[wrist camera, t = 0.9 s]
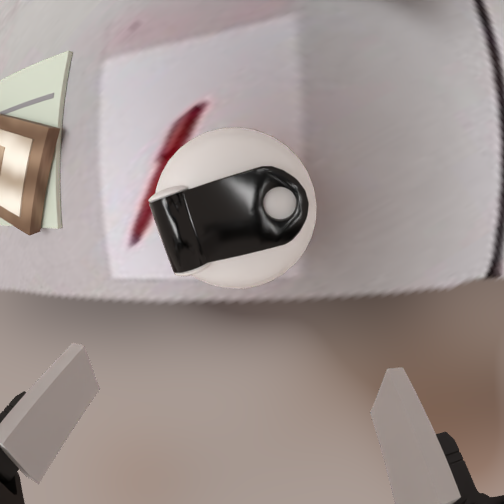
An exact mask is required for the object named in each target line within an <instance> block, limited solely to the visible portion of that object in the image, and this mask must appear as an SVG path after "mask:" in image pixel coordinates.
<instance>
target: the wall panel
mask: <svg viewBox="0 0 504 504" xmlns="http://www.w3.org/2000/svg"><path fill="white" fill-rule="evenodd" d="M72 54H73V52H71V51H66V52H64V53H61V54H58V55H55V56H53V57H50V58H48V59H45V60H43V61H40V62H38V63H36V64H33V65H31V66H29V67H27V68H24V69H22V70H20V71H18V72H16V73H14V74H12V75H10V76H8V77H6V78H4V79H2V80H0V114H5V115H9V116H13V117H18V118H22V119H26V120H30V121H34V122H38V123H42V124H45V125H49V126H53V127H57V128H60V132H59V136H58V139H57V143H56V147H55V151H54V155H53V159H52V163H51V168H50V173H49V177H48V183H47V188H46V194H45V200H44V206H43V213H42V221H41V228H55V229H58V228H61V227H62V219H61V201H60V150H61V132H62V120H63V110H64V101H65V94H66V87H67V80H68V74H69V69H70V63H71V58H72ZM0 225H2V226H13V225H11V224H10V223H8V222H7V221H5V220H4V219H2V218H0Z"/></svg>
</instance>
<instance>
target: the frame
mask: <svg viewBox="0 0 504 504" xmlns="http://www.w3.org/2000/svg"><path fill="white" fill-rule="evenodd" d="M59 132H60V128H57V127H53V126H49V125H45V124H42V123H38V122H34V121H30V120H26V119H22V118H18V117H13V116H9V115H5V114H0V218H2V219H4V220H5V221H7V222H8V223H10V224H11V225H13V226H15V227H16V228H18V229H20V230H21V231H23V232H25V233H26V234H28V235H32V234H34V233H37V232H40V229H41V221H42V213H43V206H44V200H45V194H46V188H47V183H48V177H49V173H50V168H51V163H52V159H53V155H54V151H55V147H56V143H57V139H58V136H59Z"/></svg>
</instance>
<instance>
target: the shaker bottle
mask: <svg viewBox="0 0 504 504" xmlns="http://www.w3.org/2000/svg"><path fill="white" fill-rule="evenodd" d="M149 202H150V203H149V205H150V208H151V211H152V214H153V217H154V220H155V223H156V226H157V230H158V233H159V236H160V238H161V240H162V242H163V245H164V248H165V251H166V253H167V256H168V259H169V261H170V264H171V267H172V269H173V272H174V274H175V275H177V276H190V275H192V276H194V277H195V278H197V279H199V280H201V281H203V282H206V283H208V284H210V285H214V286H218V287H223V288H234V289H243V288H250V287H256V286H259V285H262V284H265V283H268V282H270V281H272V280H274V279H276V278H277V277H279V276H281V275H282V274H284V273H285V272H286V271H287V270H289V269H290V268H291V267H292V266H293V265H294V264H295V263H296V262H297V261H298V259H299V258H300V257H301V255H302V254H303V253H304V252H305V250H306V248H307V246H308V244H309V242H310V239H311V237H312V234H313V230H314V226H315V222H316V207H317V204H316V198H315V192H314V187H313V184H312V182H311V179H310V177H309V174H308V172H307V170H306V169H305V167H304V166H303V164H302V163H301V161H300V159H299V158H298V157H297V156H296V155H295V154H294V153H293V152H292V151H291V150H290V149H289V148H288V147H287V146H286V145H284V144H283V143H281V142H280V141H278V140H277V139H275V138H274V137H272V136H270V135H267V134H265V133H262V132H260V131H257V130H252V129H246V128H221V129H217V130H213V131H209V132H206V133H204V134H202V135H199V136H197V137H195V138H193V139H192V140H190V141H189V142H188V143H186V144H185V145H184V146H182V147H181V148H180V149H179V150H178V151H177V152H176V153H175V154H174V155H173V156H172V158H171V159H170V160H169V161H168V163H167V165H166V166H165V168H164V170H163V172H162V173H161V176H160V179H159V182H158V184H157V187H156V193H155V194H154V195H153V196H152V197H150V199H149Z"/></svg>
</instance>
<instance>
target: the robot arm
mask: <svg viewBox="0 0 504 504" xmlns="http://www.w3.org/2000/svg"><path fill="white" fill-rule="evenodd" d="M99 390H100V388H99V385H98V382H97V380H96V377H95V374H94V371H93V369H92V366H91V363H90V360H89V357H88V354H87V351H86V348H85V346H84V345H80V344H75V343H72V344H71V345H70V346H69V347H68V348H67V349H66V350H65V351H64V352H63V353H62V354H61V355H60V356H59V358H58V359H57V360H56V361H55V362H54V363H53V364H52V365H51V366H50V367H49V368H48V369H47V370H46V371H45V373H44V374H43V375H42V376H41V377H40V378H39V379H38V380H37V381H36V383H35V384H34V385H33V386H32V387H31V388H30V389H29V390H28V391H27V392H22V393H21V394H19V395H17V396H16V397H15V398H14V399H13V400H12V401H11V402H10V404H9V406H7V407H6V408H5V409H4V411H2V413H1V414H0V504H25V503H24V498H23V493H22V488H21V482H20V477H19V474H18V472H17V471H18V469H20V470H21V472H22V473H23V474H24V475H25V476H26V477H28V478H30V479H31V480H33V481H34V482H36V483H37V484H39V483H40V481H41V480H42V478H43V476H44V475H45V473H46V471H47V470H48V468H49V466H50V465H51V463H52V462H53V460H54V459H55V457H56V455H57V454H58V452H59V451H60V449H61V447H62V446H63V444H64V442H65V441H66V440H67V438H68V436H69V435H70V433H71V431H72V430H73V429H74V427H75V426H76V424H77V423H78V421H79V420H80V418H81V417H82V415H83V413H84V412H85V411H86V409H87V407H88V406H89V405H90V403H91V402H92V400H93V399H94V397H95V396H96V394H97V393H98V391H99ZM370 413H371V416H372V420H373V423H374V426H375V430H376V433H377V437H378V440H379V444H380V447H381V451H382V454H383V458H384V462H385V465H386V469H387V473H388V477H389V481H390V485H391V489H392V493H393V497H394V502H395V504H504V495H503V496H498V497H489V496H487V495H486V494H483V493H479V492H478V491H477V489H476V487H475V485H474V483H473V480H472V478H471V475H470V473H469V471H468V468H467V466H466V464H465V462H464V461H463V457H462V455H461V453H460V452H459V448H458V446H457V444H456V442H455V440H454V439H453V438H452V437H451V436H450V435H449V434H448V433H447V432H443V433H440V434H435V432H434V430H433V428H432V426H431V423H430V421H429V419H428V417H427V415H426V413H425V410H424V408H423V406H422V404H421V402H420V400H419V398H418V396H417V394H416V392H415V390H414V388H413V386H412V384H411V382H410V380H409V378H408V376H407V375H406V373H405V371H404V369H403V368H392V369H387V370H386V373H385V376H384V379H383V381H382V384H381V387H380V389H379V392H378V395H377V397H376V400H375V402H374V405H373V407H372V410H371V412H370Z"/></svg>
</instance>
